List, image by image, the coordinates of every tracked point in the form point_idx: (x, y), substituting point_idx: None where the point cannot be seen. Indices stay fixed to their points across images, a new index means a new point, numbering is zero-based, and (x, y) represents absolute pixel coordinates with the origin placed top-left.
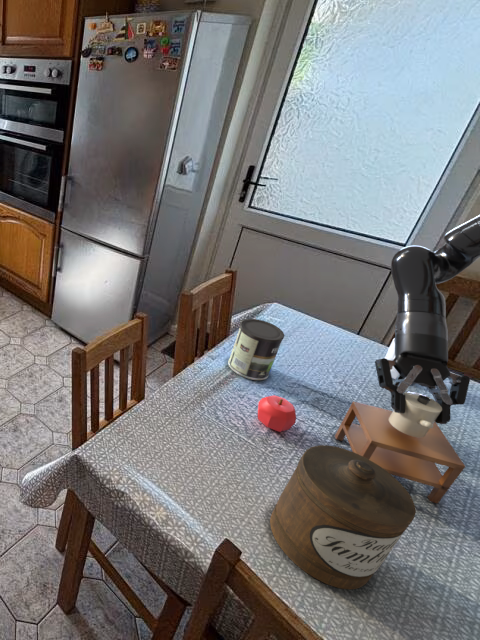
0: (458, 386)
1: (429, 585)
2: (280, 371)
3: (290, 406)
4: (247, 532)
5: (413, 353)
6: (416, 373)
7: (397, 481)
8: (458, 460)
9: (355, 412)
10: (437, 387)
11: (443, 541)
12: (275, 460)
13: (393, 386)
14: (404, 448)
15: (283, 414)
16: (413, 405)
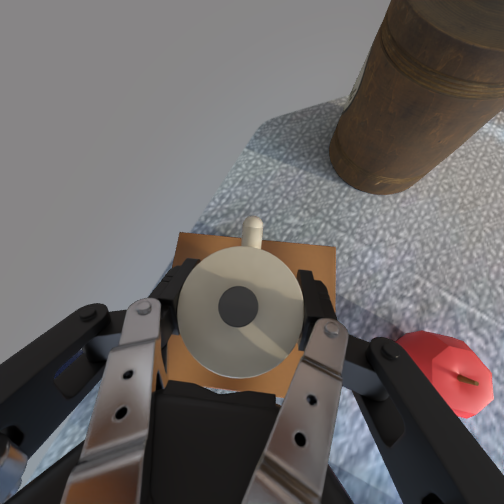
0: (9, 406)
1: (276, 149)
2: None
3: (440, 373)
4: None
5: None
6: (274, 466)
7: (419, 8)
8: (182, 245)
9: None
10: (156, 365)
11: (233, 204)
12: (410, 266)
13: (357, 355)
14: (276, 244)
15: (448, 342)
16: (287, 268)
